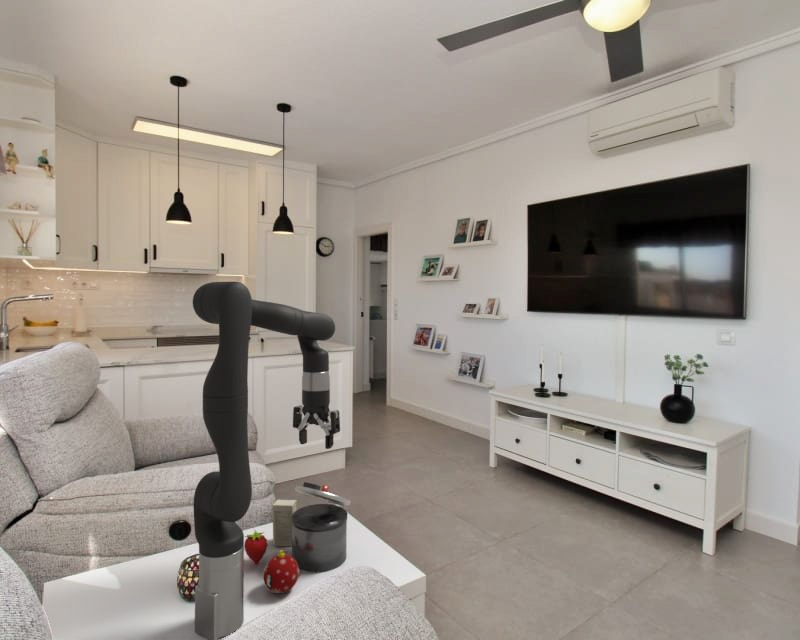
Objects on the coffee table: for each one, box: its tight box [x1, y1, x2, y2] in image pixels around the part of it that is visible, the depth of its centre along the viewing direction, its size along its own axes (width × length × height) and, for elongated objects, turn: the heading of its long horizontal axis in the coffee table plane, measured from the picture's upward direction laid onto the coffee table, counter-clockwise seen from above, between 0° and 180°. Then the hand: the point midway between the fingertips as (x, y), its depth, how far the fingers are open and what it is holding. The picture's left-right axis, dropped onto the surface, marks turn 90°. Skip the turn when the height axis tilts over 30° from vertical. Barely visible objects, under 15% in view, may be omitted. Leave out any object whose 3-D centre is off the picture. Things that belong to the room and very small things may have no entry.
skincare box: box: [272, 499, 298, 547], centre depth 142 cm, size 6×4×12 cm
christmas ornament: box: [262, 549, 300, 594], centre depth 118 cm, size 9×9×10 cm
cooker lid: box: [294, 481, 351, 507], centre depth 135 cm, size 17×16×3 cm
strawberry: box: [244, 529, 268, 566], centre depth 130 cm, size 6×8×10 cm
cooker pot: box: [291, 503, 348, 573], centre depth 134 cm, size 15×15×12 cm
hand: (316, 445), depth 131 cm, fingers open, 8 cm apart
